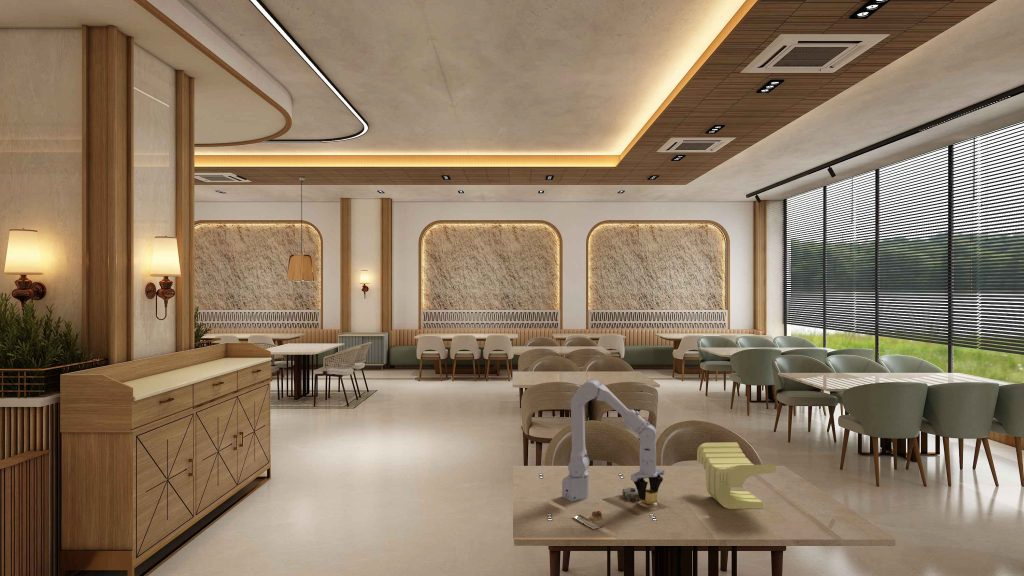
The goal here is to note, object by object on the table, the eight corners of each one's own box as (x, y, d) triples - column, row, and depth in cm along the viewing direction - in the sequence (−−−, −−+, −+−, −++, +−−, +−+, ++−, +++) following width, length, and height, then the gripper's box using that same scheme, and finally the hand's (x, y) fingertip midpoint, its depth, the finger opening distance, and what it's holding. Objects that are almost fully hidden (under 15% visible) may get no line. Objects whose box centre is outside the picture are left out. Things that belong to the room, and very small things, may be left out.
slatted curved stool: (697, 488, 231) (697, 442, 232) (737, 488, 232) (737, 442, 233) (729, 518, 202) (729, 465, 202) (775, 517, 202) (775, 464, 203)
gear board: (636, 518, 201) (636, 503, 201) (601, 502, 216) (601, 488, 216) (668, 509, 209) (668, 495, 209) (632, 494, 224) (632, 481, 224)
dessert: (622, 525, 197) (622, 510, 197) (593, 532, 191) (593, 517, 191) (599, 513, 207) (599, 499, 207) (571, 519, 201) (571, 505, 201)
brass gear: (648, 504, 209) (648, 494, 209) (637, 500, 213) (637, 490, 213) (658, 502, 211) (658, 492, 211) (648, 497, 215) (648, 488, 216)
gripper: (640, 465, 205) (640, 505, 205) (670, 459, 213) (670, 497, 213) (626, 460, 211) (626, 499, 211) (656, 454, 219) (656, 491, 219)
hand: (647, 498), depth 212 cm, fingers closed on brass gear, 5 cm apart
